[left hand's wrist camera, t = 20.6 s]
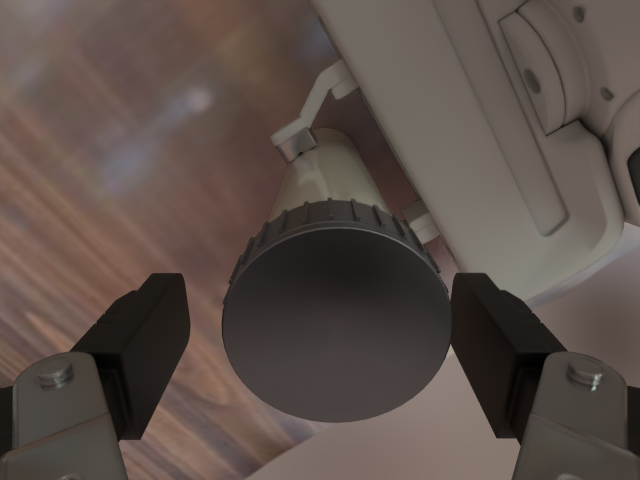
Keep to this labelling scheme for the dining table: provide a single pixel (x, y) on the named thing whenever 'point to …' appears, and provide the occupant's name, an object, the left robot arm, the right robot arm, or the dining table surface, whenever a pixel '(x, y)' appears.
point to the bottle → (327, 175)
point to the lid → (336, 313)
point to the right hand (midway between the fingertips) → (311, 199)
